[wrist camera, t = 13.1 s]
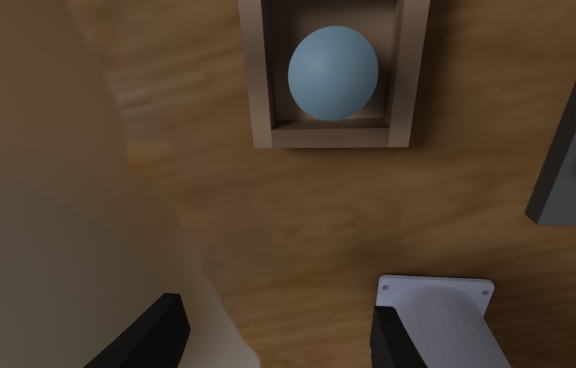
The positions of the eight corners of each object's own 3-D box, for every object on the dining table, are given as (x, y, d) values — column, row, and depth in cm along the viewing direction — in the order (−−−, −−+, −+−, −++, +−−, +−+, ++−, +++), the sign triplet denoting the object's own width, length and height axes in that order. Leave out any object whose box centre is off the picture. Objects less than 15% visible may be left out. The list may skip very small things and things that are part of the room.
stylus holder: (396, 131, 17) (408, 147, 14) (263, 133, 18) (254, 148, 15) (418, -38, 13) (438, -53, 11) (248, -23, 14) (234, -35, 12)
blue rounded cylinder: (358, 89, 15) (376, 117, 10) (302, 94, 16) (292, 123, 10) (358, 26, 14) (380, 20, 9) (298, 33, 14) (283, 31, 9)
